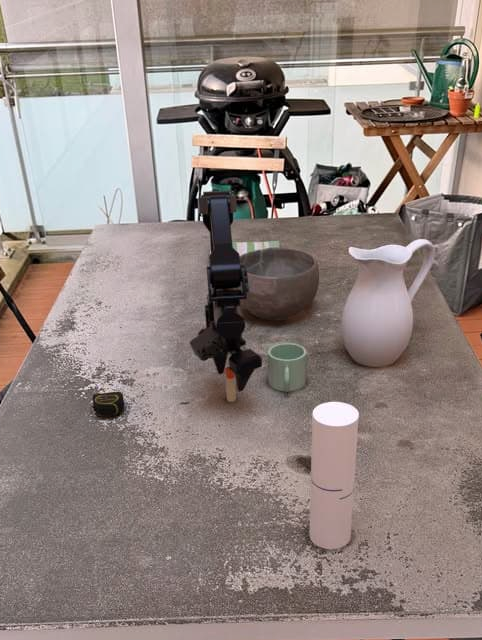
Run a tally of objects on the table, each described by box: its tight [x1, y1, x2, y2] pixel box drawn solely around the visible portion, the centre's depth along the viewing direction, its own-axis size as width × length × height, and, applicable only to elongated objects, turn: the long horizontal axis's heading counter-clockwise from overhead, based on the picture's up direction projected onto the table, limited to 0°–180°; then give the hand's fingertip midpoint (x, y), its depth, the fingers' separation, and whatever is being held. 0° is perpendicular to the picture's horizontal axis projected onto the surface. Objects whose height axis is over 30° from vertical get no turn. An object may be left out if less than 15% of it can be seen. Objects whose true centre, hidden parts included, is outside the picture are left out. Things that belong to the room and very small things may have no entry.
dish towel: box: [208, 240, 280, 256], centre depth 243 cm, size 18×23×3 cm
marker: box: [224, 366, 237, 403], centre depth 164 cm, size 2×2×8 cm
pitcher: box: [341, 238, 436, 368], centre depth 175 cm, size 24×17×28 cm
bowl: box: [234, 246, 320, 321], centre depth 201 cm, size 24×24×15 cm
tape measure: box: [92, 391, 125, 417], centre depth 163 cm, size 7×7×4 cm
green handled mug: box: [267, 342, 307, 393], centre depth 169 cm, size 12×9×8 cm
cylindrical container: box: [308, 401, 360, 550], centre depth 121 cm, size 7×7×25 cm
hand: (230, 382), depth 164 cm, fingers open, 9 cm apart
